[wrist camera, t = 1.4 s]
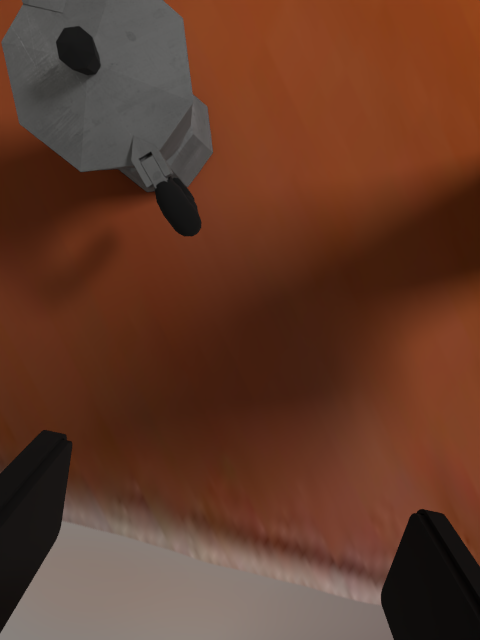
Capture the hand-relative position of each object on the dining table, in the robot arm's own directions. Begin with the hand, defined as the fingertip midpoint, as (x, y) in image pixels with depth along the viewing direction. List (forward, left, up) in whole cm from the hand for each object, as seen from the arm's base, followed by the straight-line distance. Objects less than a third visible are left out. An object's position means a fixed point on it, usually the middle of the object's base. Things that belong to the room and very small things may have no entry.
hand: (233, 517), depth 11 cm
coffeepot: (+5, -14, -28) cm, 31 cm away
